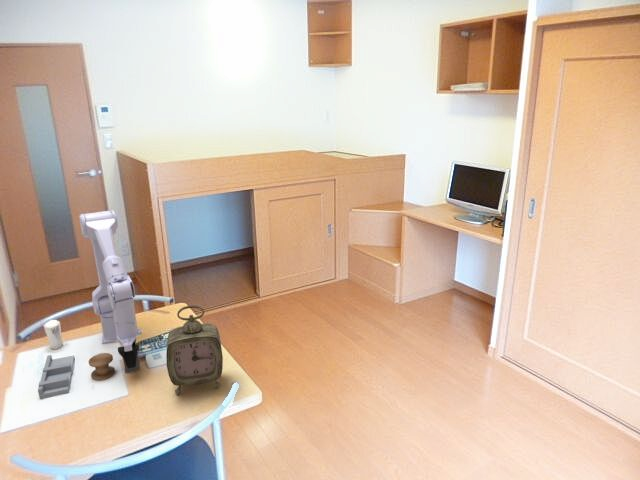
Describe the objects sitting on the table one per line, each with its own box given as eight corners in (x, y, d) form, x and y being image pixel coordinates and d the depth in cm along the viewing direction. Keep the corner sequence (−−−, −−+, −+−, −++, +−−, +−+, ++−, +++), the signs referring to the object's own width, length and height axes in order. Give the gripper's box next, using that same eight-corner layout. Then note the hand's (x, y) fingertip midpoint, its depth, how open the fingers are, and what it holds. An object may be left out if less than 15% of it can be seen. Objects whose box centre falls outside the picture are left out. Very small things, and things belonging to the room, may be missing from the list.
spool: (92, 370, 137) (89, 355, 135) (115, 365, 139) (112, 351, 137) (90, 382, 131) (87, 367, 129) (115, 377, 133) (112, 362, 132)
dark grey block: (125, 365, 139) (122, 348, 137) (139, 363, 140) (136, 345, 139) (125, 373, 135) (122, 355, 134) (139, 370, 137) (137, 352, 135)
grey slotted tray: (49, 363, 140) (47, 354, 139) (74, 358, 143) (73, 349, 142) (39, 398, 124) (37, 388, 123) (68, 392, 127) (66, 382, 126)
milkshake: (46, 345, 150) (40, 318, 147) (64, 341, 152) (59, 314, 149) (45, 352, 146) (39, 324, 143) (64, 348, 148) (58, 320, 145)
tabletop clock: (170, 399, 124) (160, 316, 116) (171, 379, 132) (162, 301, 124) (225, 390, 128) (218, 309, 120) (222, 372, 136) (216, 295, 128)
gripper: (140, 328, 128) (146, 370, 132) (139, 306, 141) (144, 345, 145) (113, 333, 125) (120, 375, 130) (114, 310, 138) (120, 350, 142)
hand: (131, 360), depth 137 cm, fingers open, 7 cm apart
